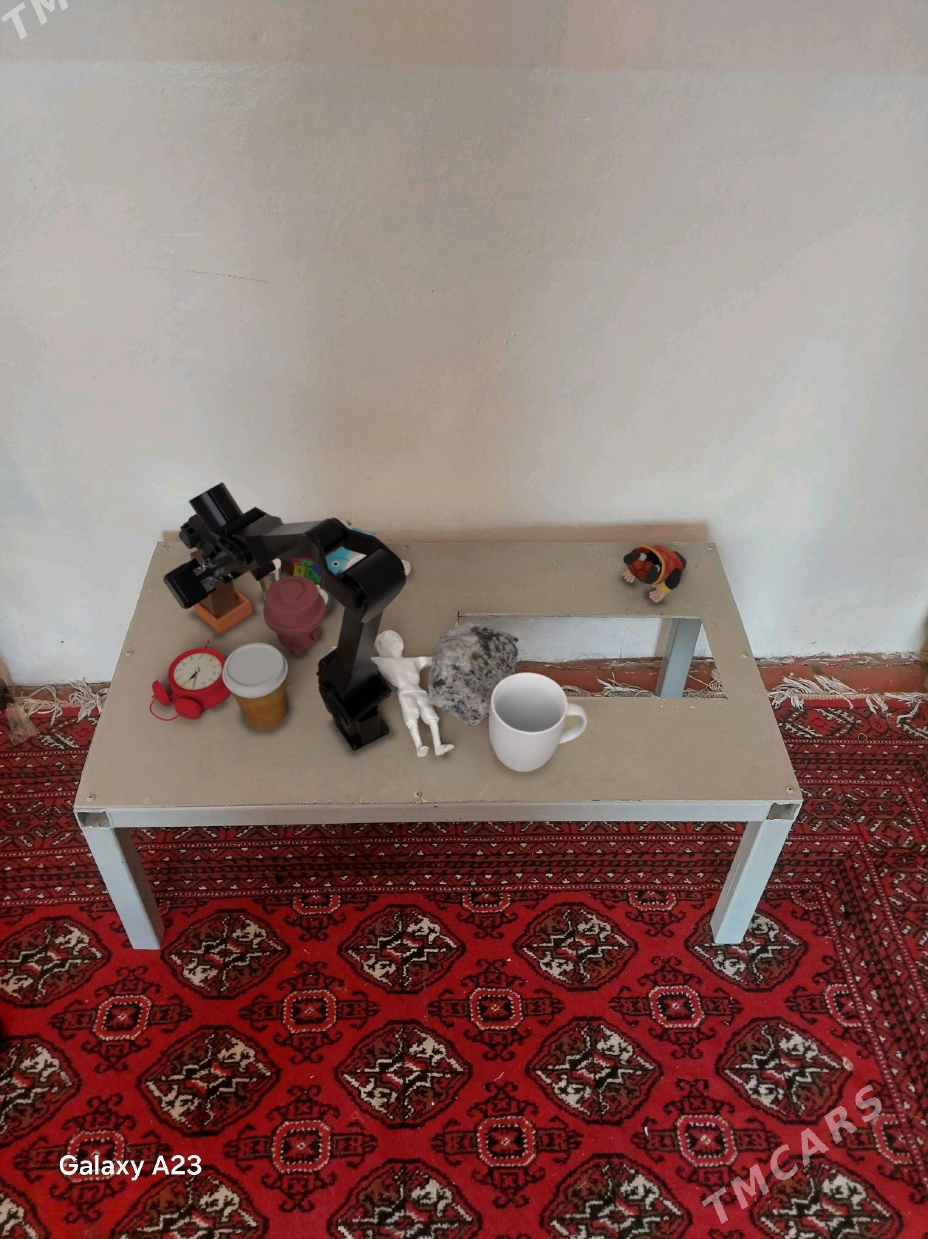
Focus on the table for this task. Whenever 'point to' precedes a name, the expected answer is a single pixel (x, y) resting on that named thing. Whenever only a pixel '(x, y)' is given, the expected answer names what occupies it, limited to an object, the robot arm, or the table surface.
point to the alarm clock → (193, 683)
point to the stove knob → (326, 597)
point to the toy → (342, 557)
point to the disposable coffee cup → (258, 683)
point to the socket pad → (226, 614)
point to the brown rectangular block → (217, 592)
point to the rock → (470, 669)
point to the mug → (530, 720)
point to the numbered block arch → (302, 568)
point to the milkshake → (271, 577)
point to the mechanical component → (294, 612)
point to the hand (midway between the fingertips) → (209, 571)
